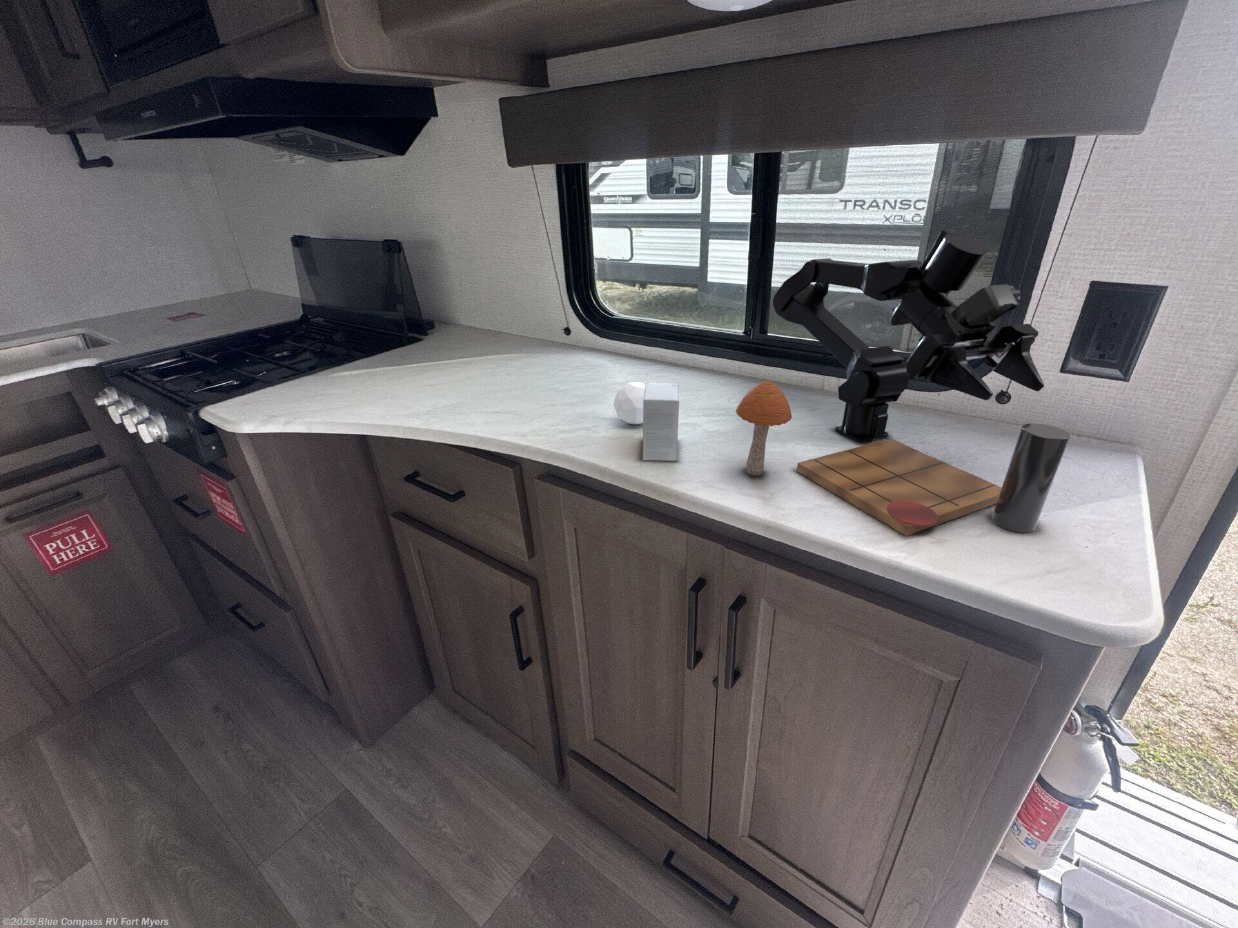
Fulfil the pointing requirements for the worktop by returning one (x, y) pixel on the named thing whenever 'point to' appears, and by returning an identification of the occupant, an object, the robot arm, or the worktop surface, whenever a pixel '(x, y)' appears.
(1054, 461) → the black cylinder
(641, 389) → the geometric ball
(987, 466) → the worktop surface
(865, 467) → the board
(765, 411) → the mushroom
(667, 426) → the small box
